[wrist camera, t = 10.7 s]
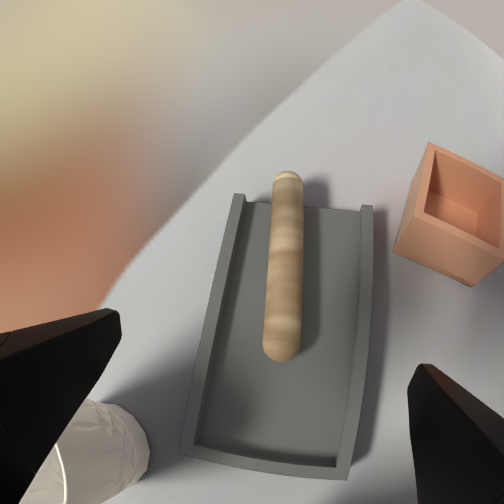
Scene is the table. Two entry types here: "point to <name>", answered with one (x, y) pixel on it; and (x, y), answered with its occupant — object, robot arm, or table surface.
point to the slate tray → (289, 372)
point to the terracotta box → (453, 217)
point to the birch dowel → (285, 269)
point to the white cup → (92, 458)
